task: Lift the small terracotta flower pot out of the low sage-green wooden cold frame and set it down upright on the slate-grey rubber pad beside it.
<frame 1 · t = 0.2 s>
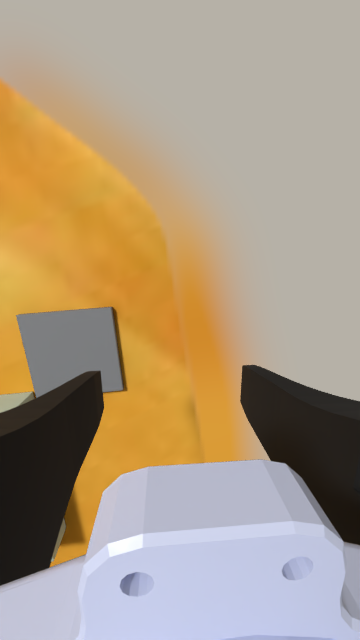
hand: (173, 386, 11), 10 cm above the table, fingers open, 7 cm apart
slate pad: (74, 352, 21), on the table
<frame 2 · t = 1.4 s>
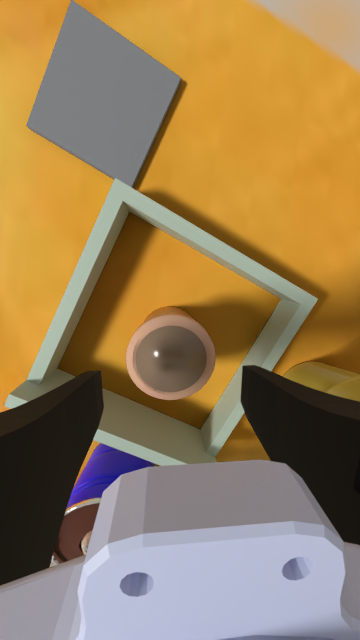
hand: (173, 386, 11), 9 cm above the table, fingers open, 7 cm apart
terracotta pot: (170, 344, 18), in the cold frame
hyacinth: (119, 465, 23), on the table
slate pad: (105, 106, 16), on the table
cold frame: (169, 333, 20), on the table
plant pot: (304, 389, 23), on the table
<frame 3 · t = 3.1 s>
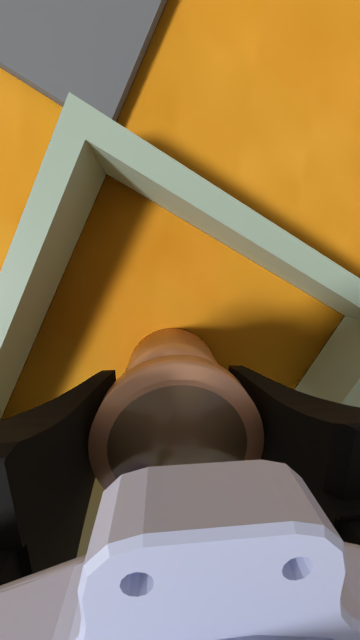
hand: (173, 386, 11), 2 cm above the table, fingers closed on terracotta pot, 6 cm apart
terracotta pot: (174, 398, 10), resting in cold frame, touching gripper
cold frame: (172, 369, 13), on the table
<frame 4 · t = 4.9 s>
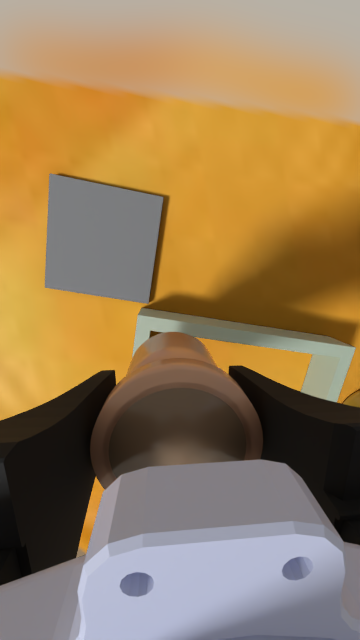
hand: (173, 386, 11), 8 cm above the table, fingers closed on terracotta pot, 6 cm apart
terracotta pot: (174, 400, 11), point 9 cm above the table, touching gripper
slate pad: (104, 244, 18), on the table
cold frame: (219, 408, 22), on the table
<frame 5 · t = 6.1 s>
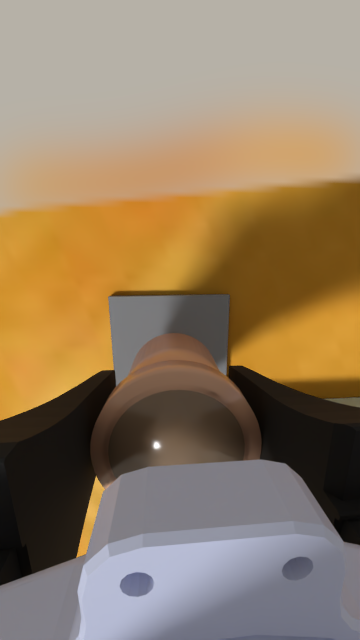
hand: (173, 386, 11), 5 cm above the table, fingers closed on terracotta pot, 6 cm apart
terracotta pot: (175, 402, 11), point 6 cm above the table, touching gripper
slate pad: (170, 350, 16), on the table
when the fingers open (4 cm above the table, at t = 6.9 s): terracotta pot drops 1 cm, resting on slate pad.
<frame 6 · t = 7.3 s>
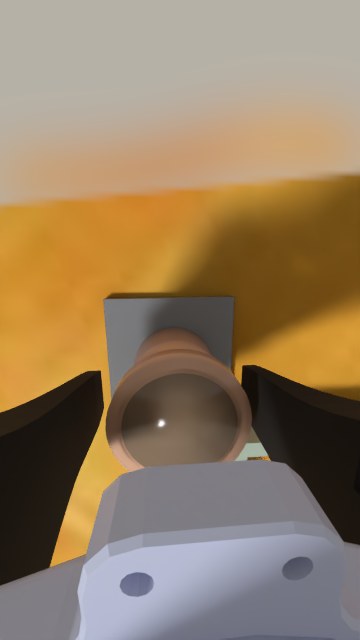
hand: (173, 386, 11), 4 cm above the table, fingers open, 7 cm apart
terracotta pot: (176, 388, 12), on the slate pad
slate pad: (170, 356, 15), on the table
cold frame: (316, 497, 19), on the table
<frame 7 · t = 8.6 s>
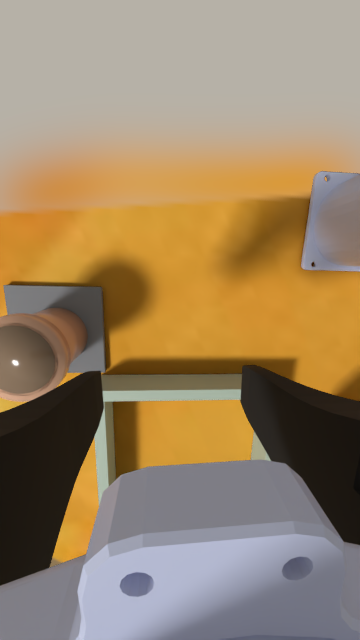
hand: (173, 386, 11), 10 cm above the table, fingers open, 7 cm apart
terracotta pot: (41, 345, 17), on the slate pad
slate pad: (59, 329, 21), on the table
cold frame: (185, 446, 25), on the table
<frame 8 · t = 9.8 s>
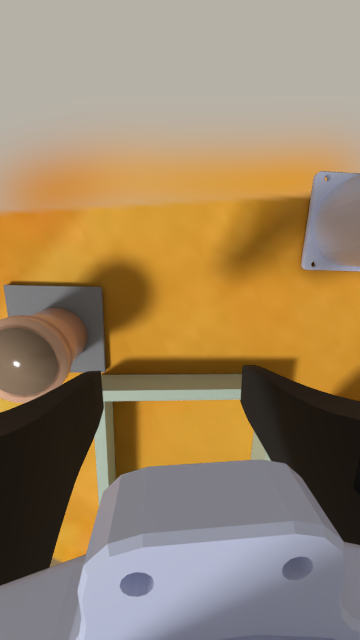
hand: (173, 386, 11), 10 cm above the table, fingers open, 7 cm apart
terracotta pot: (42, 346, 17), on the slate pad
slate pad: (59, 329, 21), on the table
cold frame: (185, 446, 25), on the table
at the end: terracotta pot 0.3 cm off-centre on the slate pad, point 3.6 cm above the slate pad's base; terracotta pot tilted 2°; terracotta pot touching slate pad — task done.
